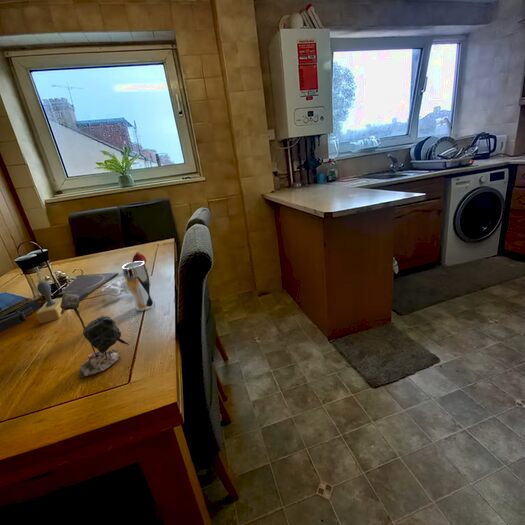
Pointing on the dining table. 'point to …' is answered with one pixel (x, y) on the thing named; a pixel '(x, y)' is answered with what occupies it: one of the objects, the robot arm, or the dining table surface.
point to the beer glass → (139, 284)
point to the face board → (87, 283)
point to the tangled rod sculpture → (116, 288)
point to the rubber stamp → (48, 304)
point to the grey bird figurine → (96, 338)
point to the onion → (139, 257)
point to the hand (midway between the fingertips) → (18, 304)
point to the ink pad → (81, 295)
